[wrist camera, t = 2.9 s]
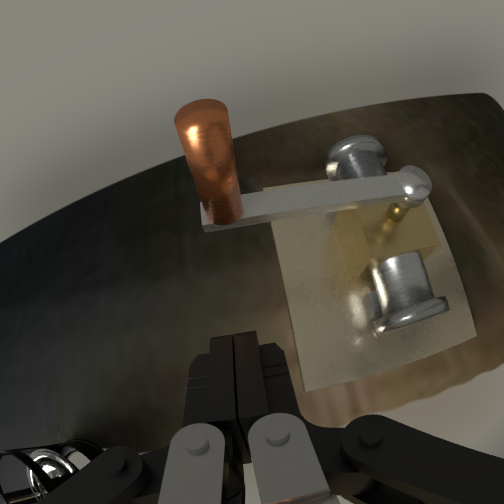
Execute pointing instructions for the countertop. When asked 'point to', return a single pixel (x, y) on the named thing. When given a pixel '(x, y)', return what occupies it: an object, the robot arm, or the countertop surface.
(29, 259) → the countertop surface
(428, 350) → the valve
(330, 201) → the valve lever
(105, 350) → the countertop surface
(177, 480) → the robot arm
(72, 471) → the french press
